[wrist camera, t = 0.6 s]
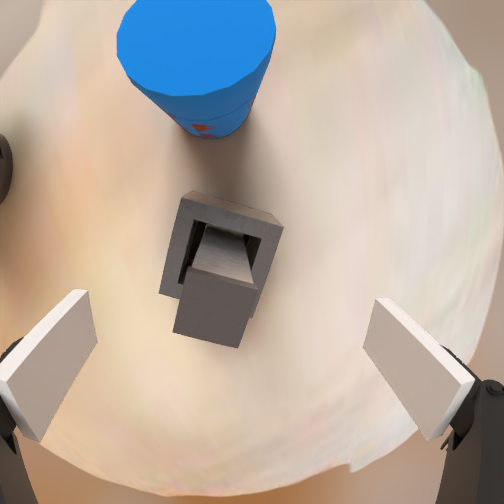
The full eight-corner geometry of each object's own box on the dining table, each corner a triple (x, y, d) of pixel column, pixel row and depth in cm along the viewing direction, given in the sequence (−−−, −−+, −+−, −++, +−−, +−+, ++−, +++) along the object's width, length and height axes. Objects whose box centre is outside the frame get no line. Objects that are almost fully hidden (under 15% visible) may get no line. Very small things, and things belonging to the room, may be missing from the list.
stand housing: (172, 267, 44) (157, 296, 33) (192, 190, 41) (180, 198, 30) (247, 287, 46) (252, 321, 35) (271, 214, 43) (285, 228, 32)
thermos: (220, 59, 36) (214, -47, 12) (265, 110, 39) (312, 40, 15) (161, 102, 37) (87, 34, 13) (205, 155, 40) (172, 134, 16)
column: (197, 257, 43) (171, 338, 22) (207, 219, 42) (187, 270, 21) (231, 266, 44) (235, 354, 23) (243, 229, 43) (258, 290, 21)
